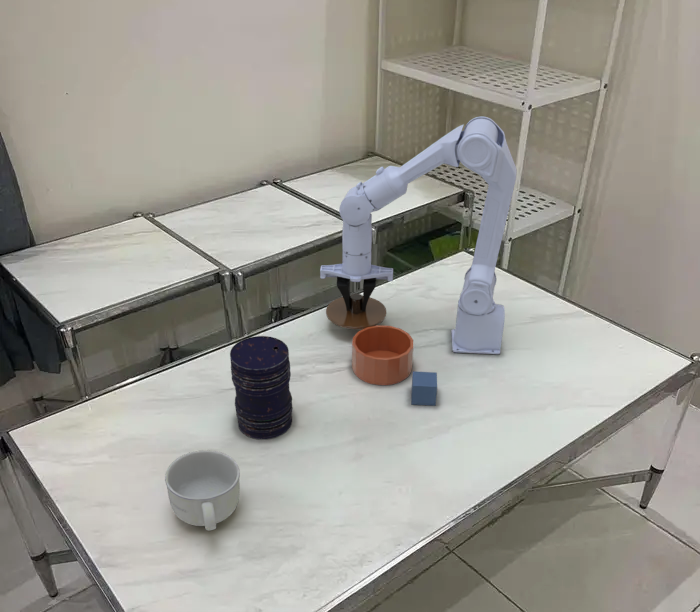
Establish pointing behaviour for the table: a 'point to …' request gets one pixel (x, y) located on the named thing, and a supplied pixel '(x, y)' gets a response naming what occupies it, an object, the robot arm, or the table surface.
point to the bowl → (382, 355)
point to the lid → (356, 312)
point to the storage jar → (262, 386)
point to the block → (424, 388)
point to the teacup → (203, 487)
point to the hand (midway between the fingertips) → (356, 308)
